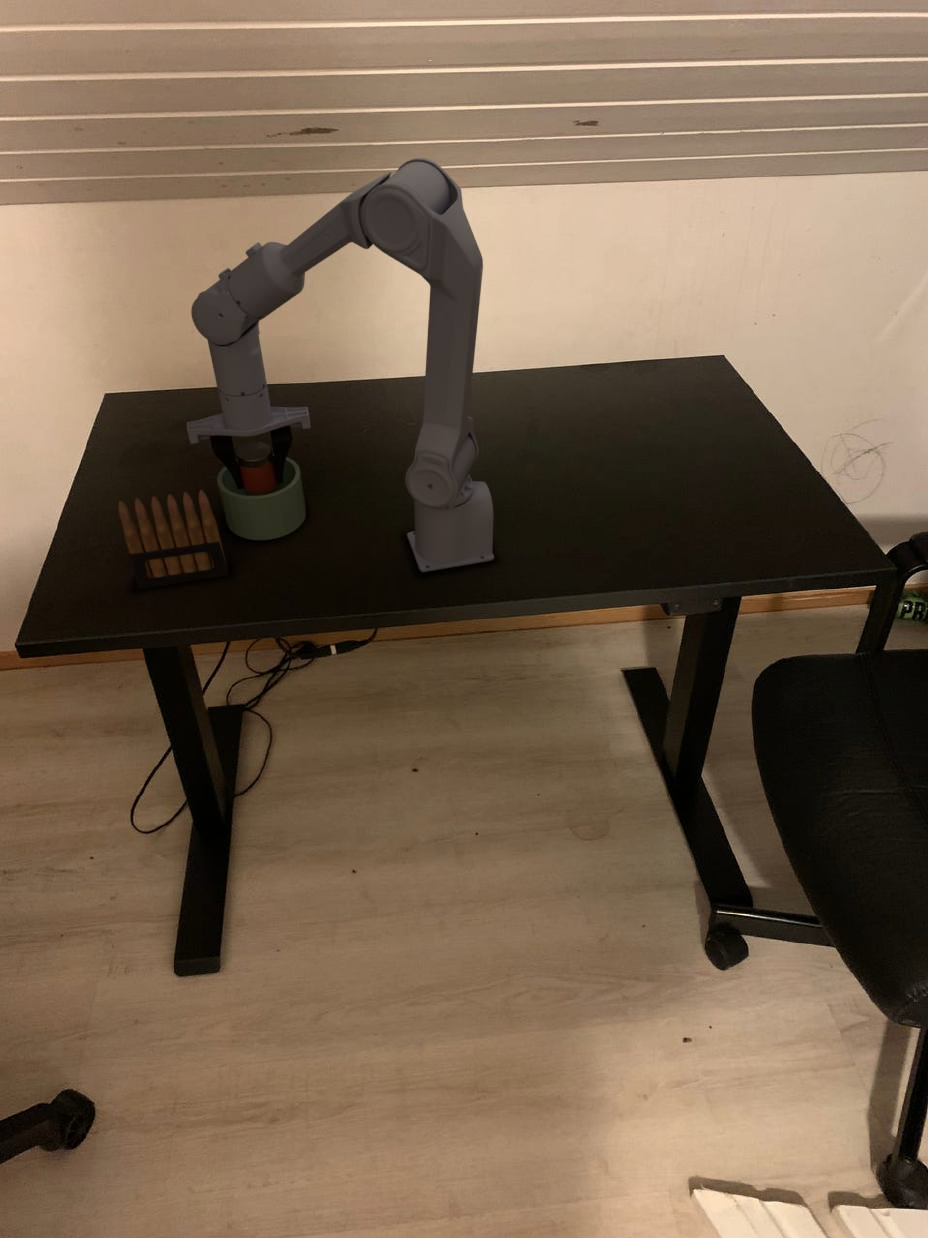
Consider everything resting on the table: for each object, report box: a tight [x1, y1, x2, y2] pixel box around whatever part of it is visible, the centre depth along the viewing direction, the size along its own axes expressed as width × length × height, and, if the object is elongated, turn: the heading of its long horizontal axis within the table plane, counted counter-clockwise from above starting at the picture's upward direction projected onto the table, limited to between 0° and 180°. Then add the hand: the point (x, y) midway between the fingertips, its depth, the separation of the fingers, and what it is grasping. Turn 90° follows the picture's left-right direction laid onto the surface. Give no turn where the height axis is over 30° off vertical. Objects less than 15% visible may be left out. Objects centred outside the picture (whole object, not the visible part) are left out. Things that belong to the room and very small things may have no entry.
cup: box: [216, 453, 307, 541], centre depth 113 cm, size 10×10×6 cm
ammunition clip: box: [118, 489, 230, 590], centre depth 101 cm, size 11×2×12 cm, turn 104°
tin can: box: [235, 441, 279, 496], centre depth 110 cm, size 4×4×6 cm
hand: (260, 482), depth 111 cm, fingers closed on tin can, 4 cm apart
